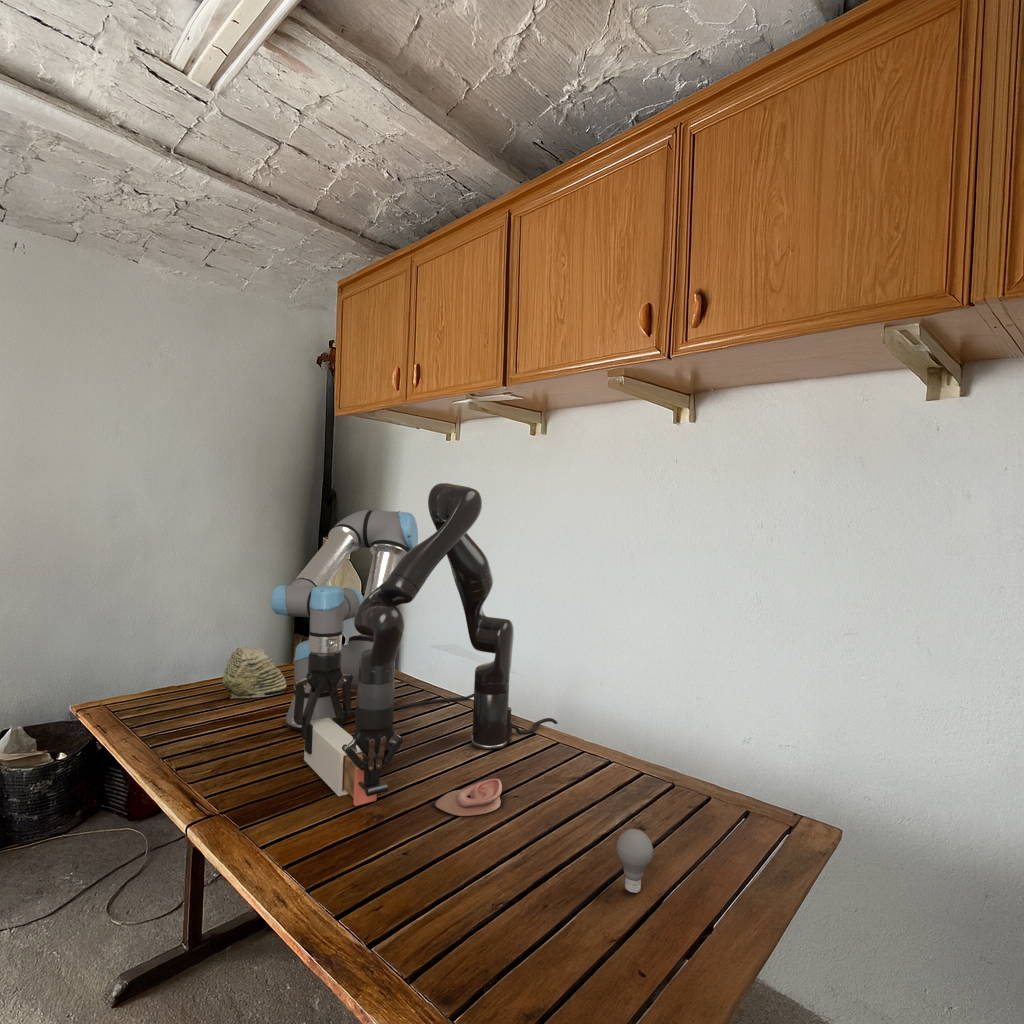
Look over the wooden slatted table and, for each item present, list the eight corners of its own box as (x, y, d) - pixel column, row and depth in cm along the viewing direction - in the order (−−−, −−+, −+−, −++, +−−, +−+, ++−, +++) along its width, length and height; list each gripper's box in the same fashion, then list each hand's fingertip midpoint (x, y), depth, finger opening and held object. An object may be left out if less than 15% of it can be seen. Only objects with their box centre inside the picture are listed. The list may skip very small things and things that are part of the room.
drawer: (387, 811, 127) (389, 774, 127) (366, 817, 125) (368, 779, 124) (338, 764, 148) (339, 732, 148) (319, 768, 145) (320, 736, 145)
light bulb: (610, 879, 108) (613, 822, 108) (644, 879, 109) (647, 822, 109) (619, 902, 102) (622, 840, 102) (655, 901, 103) (658, 840, 103)
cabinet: (364, 789, 138) (366, 747, 138) (338, 796, 134) (340, 753, 134) (327, 754, 155) (329, 717, 155) (303, 760, 151) (305, 721, 151)
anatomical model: (430, 792, 129) (447, 769, 140) (429, 811, 129) (446, 787, 140) (494, 801, 126) (506, 777, 137) (493, 821, 126) (505, 795, 138)
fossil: (218, 695, 195) (220, 647, 195) (278, 685, 208) (279, 640, 207) (228, 703, 189) (230, 653, 188) (289, 692, 201) (290, 645, 201)
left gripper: (290, 660, 141) (286, 763, 142) (369, 650, 153) (365, 746, 153) (279, 653, 147) (276, 752, 147) (356, 644, 159) (352, 736, 159)
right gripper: (351, 712, 121) (347, 802, 121) (413, 702, 129) (409, 786, 129) (336, 701, 127) (332, 787, 127) (396, 692, 135) (392, 772, 135)
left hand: (321, 748), depth 150 cm, fingers closed on cabinet, 6 cm apart
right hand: (371, 786), depth 128 cm, fingers closed
